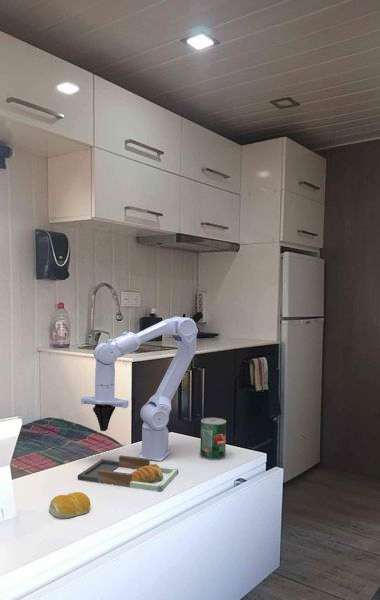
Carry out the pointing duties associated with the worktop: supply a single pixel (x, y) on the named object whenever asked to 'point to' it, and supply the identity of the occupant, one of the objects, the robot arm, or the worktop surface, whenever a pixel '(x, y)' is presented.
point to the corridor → (119, 477)
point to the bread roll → (69, 505)
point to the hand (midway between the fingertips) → (103, 430)
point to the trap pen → (92, 471)
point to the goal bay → (157, 487)
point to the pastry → (148, 474)
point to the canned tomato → (213, 438)
